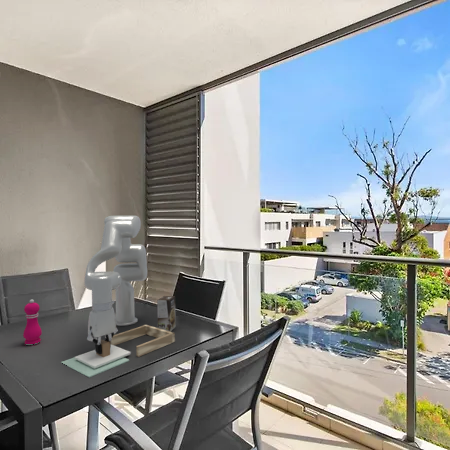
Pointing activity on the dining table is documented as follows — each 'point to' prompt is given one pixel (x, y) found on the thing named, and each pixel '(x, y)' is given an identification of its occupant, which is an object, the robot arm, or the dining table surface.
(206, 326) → the dining table surface
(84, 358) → the cover plate
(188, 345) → the dining table surface
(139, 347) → the open-sided wooden frame
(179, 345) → the dining table surface
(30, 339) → the pepper mill
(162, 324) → the coffee box
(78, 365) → the sage mat
